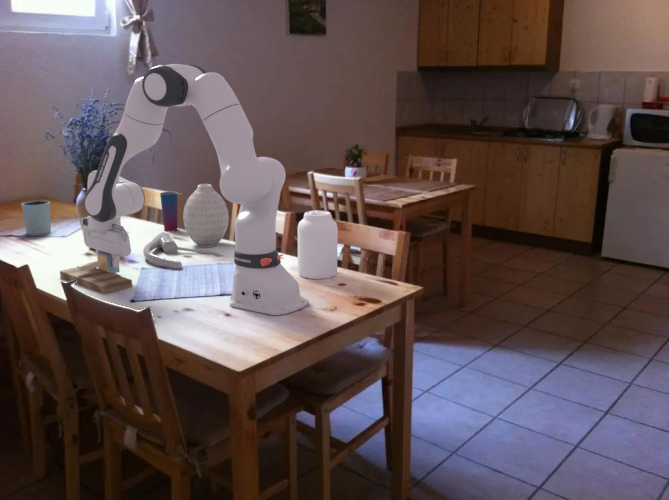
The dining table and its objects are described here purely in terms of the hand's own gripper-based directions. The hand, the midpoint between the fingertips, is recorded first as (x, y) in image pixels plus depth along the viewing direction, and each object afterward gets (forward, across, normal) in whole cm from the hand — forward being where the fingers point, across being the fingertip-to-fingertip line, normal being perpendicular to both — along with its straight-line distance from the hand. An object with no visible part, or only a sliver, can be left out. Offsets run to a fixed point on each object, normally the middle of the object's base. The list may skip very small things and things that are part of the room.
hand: (108, 265), depth 200 cm
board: (+3, -4, +7) cm, 9 cm away
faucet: (+4, -1, -27) cm, 27 cm away
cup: (+3, +34, -50) cm, 61 cm away
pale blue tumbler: (+3, +68, -13) cm, 70 cm away
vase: (+3, +5, -44) cm, 44 cm away
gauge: (+2, 0, +4) cm, 5 cm away
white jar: (+3, -49, -43) cm, 65 cm away
